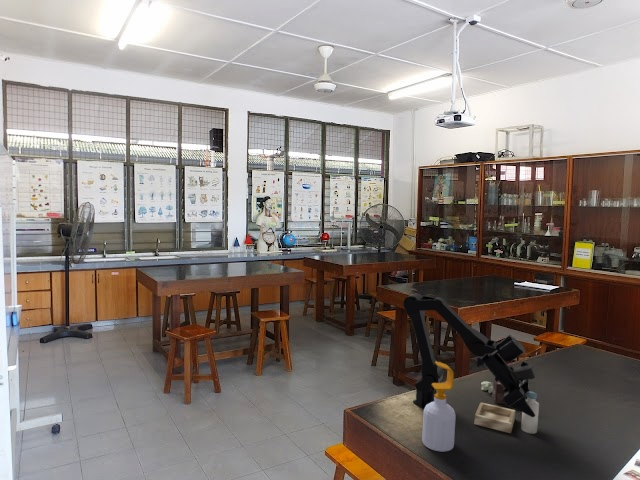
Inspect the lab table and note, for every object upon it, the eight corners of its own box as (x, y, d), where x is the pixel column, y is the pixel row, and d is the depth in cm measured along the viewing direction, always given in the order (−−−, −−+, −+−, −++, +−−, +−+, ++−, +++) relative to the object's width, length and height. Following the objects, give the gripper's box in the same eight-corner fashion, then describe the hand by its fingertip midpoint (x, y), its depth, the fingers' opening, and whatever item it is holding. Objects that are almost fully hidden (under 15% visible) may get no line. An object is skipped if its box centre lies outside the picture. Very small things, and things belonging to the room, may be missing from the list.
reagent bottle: (530, 435, 140) (533, 397, 139) (517, 428, 144) (520, 391, 143) (540, 431, 142) (543, 395, 141) (527, 424, 146) (530, 389, 145)
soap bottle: (418, 436, 137) (422, 357, 135) (447, 435, 138) (451, 357, 136) (427, 452, 128) (431, 369, 126) (458, 452, 129) (463, 368, 127)
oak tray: (474, 424, 146) (474, 415, 145) (480, 410, 155) (480, 402, 155) (510, 433, 140) (511, 424, 140) (514, 418, 150) (515, 410, 150)
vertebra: (489, 396, 167) (488, 386, 167) (476, 391, 173) (475, 381, 174) (503, 393, 169) (502, 383, 169) (489, 388, 176) (488, 378, 176)
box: (512, 405, 160) (514, 385, 159) (494, 403, 161) (496, 383, 161) (509, 398, 166) (510, 379, 165) (491, 396, 167) (493, 377, 167)
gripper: (517, 364, 135) (556, 409, 130) (522, 347, 151) (557, 386, 147) (487, 384, 139) (524, 428, 135) (496, 365, 155) (529, 404, 151)
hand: (535, 410), depth 142 cm, fingers open, 9 cm apart
